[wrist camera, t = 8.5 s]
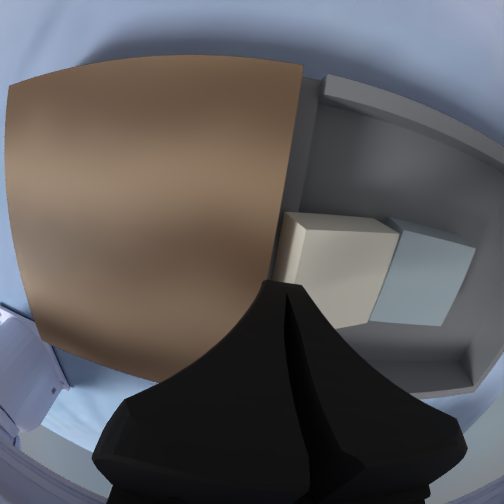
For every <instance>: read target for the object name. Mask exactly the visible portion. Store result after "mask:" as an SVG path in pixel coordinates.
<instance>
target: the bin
mask: <svg viewBox="0 0 504 504" xmlns="http://www.w3.org/2000/svg"><path fill="white" fill-rule="evenodd" d="M284 212H299V213H315V214H329V215H342V216H355V217H366V218H374V219H376V220H378V221H379V222H381V223H383V224H384V225H386V223H387V220H388V216H389V217H393V218H397V219H401V220H405V221H409V222H413V223H417V224H421V225H425V226H428V227H432V228H436V229H440V230H443V231H447V232H450V233H454V234H457V235H459V236H460V237H462V238H463V239H464V240H466V241H467V242H468V243H470V244H471V245H472V246H473V247H475V248H476V250H475V253H474V255H473V258H472V261H471V263H470V266H469V268H468V270H467V273H466V275H465V278H464V280H463V282H462V284H461V287H460V289H459V291H458V293H457V295H456V297H455V299H454V302H453V304H452V306H451V308H450V310H449V312H448V313H447V315H446V317H445V319H444V321H443V323H442V325H441V326H430V325H415V324H402V323H390V322H379V321H370V320H369V319H368V322H367V323H364V324H359V325H354V326H349V327H343V328H338V329H335V330H336V331H337V332H338V333H339V334H340V335H341V337H342V338H343V339H344V340H345V341H346V342H347V343H348V344H349V345H350V346H351V347H352V348H353V349H354V350H355V351H356V352H357V353H358V354H359V355H360V356H361V357H362V358H363V359H364V360H365V361H366V362H368V363H369V364H370V365H371V366H372V367H373V368H375V369H376V370H377V371H378V372H380V373H381V374H382V375H383V376H385V377H386V378H387V379H389V380H390V381H391V382H393V383H394V384H395V385H397V386H398V387H400V388H401V389H403V390H404V391H406V392H407V393H409V394H411V395H412V396H414V397H415V398H417V399H429V398H438V397H446V396H453V395H460V394H466V393H472V392H474V391H475V390H476V389H477V388H478V387H479V385H480V384H481V383H482V381H483V380H484V379H485V378H486V376H487V375H488V374H489V372H490V371H491V369H492V368H493V367H494V365H495V364H496V362H497V361H498V360H499V358H500V357H501V355H502V354H503V352H504V147H503V146H502V145H500V144H499V143H497V142H495V141H494V140H492V139H490V138H489V137H487V136H485V135H484V134H482V133H480V132H478V131H477V130H475V129H473V128H471V127H469V126H467V125H465V124H464V123H462V122H460V121H458V120H456V119H454V118H452V117H450V116H448V115H445V114H443V113H441V112H439V111H437V110H435V109H432V108H430V107H428V106H425V105H423V104H421V103H418V102H416V101H413V100H411V99H408V98H405V97H403V96H400V95H397V94H395V93H392V92H389V91H386V90H383V89H380V88H377V87H374V86H371V85H367V84H364V83H361V82H357V81H354V80H350V79H346V78H342V77H339V76H334V75H330V74H327V75H326V76H325V77H324V78H323V79H322V80H321V81H320V80H315V79H310V78H305V77H302V80H301V86H300V93H299V99H298V105H297V112H296V118H295V124H294V130H293V137H292V143H291V149H290V155H289V161H288V166H287V172H286V178H285V184H284V190H283V195H282V201H281V207H280V212H279V218H278V223H277V229H276V234H275V240H274V245H273V250H272V256H271V261H270V266H269V272H268V277H267V280H272V275H273V270H274V265H275V260H276V254H277V249H278V244H279V238H280V233H281V227H282V222H283V216H284Z"/></svg>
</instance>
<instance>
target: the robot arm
mask: <svg viewBox="0 0 504 504" xmlns="http://www.w3.org/2000/svg"><path fill="white" fill-rule="evenodd" d="M0 320H1V322H2V325H1V326H0V504H425V500H424V499H426V498H428V497H430V494H431V493H430V488H429V484H430V483H432V482H434V481H435V480H437V479H438V478H439V477H441V476H442V475H444V474H445V473H447V472H448V471H449V470H451V469H452V468H453V467H454V466H456V465H457V464H458V463H459V462H460V461H461V460H462V459H463V458H464V456H465V454H466V452H467V449H468V448H467V445H466V442H465V439H464V437H463V434H462V431H461V429H460V426H459V424H458V421H457V419H456V418H454V417H452V416H450V415H448V414H446V413H444V412H442V411H439V410H437V409H435V408H433V407H431V406H429V405H427V404H426V403H424V402H422V401H420V400H419V399H417V398H415V397H414V396H412V395H411V394H409V393H407V392H406V391H404V390H403V389H401V388H400V387H398V386H397V385H395V384H394V383H393V382H391V381H390V380H389V379H387V378H386V377H385V376H383V375H382V374H381V373H380V372H378V371H377V370H376V369H375V368H373V367H372V366H371V365H370V364H369V363H368V362H366V361H365V360H364V359H363V358H362V357H361V356H360V355H359V354H358V353H357V352H356V351H355V350H354V349H353V348H352V347H351V346H350V345H349V344H348V343H347V342H346V341H345V340H344V339H343V338H342V337H341V335H340V334H339V333H338V332H337V331H336V330H335V329H334V327H333V326H332V325H331V324H330V323H329V321H328V320H327V319H326V317H325V316H324V315H323V314H322V312H321V311H320V310H319V308H318V307H317V305H316V304H315V303H314V301H313V300H312V298H311V297H310V296H309V294H308V293H307V291H306V290H305V288H304V287H303V286H302V285H299V284H292V283H285V282H279V281H272V280H264V281H263V282H262V284H261V288H260V290H259V293H258V294H257V296H256V298H255V300H254V301H253V303H252V304H251V306H250V307H249V309H248V310H247V312H246V313H245V314H244V315H243V317H242V318H241V319H240V320H239V321H238V323H237V324H236V325H235V326H234V327H233V328H232V329H231V330H230V332H229V333H228V334H227V335H226V336H225V337H224V338H222V339H221V340H220V341H219V342H218V343H217V344H216V345H215V346H214V347H212V348H211V349H210V350H209V351H208V352H206V353H205V354H204V355H203V356H201V357H200V358H199V359H197V360H196V361H195V362H193V363H192V364H190V365H189V366H187V367H186V368H184V369H182V370H181V371H179V372H178V373H176V374H174V375H173V376H171V377H169V378H168V379H166V380H164V381H162V382H161V383H159V384H157V385H154V386H152V387H150V388H148V389H146V390H144V391H142V392H140V393H137V394H135V395H133V396H131V397H128V398H126V399H124V400H123V402H122V403H121V404H120V405H119V407H118V408H117V410H116V411H115V412H114V414H113V415H112V417H111V418H110V420H109V421H108V423H107V424H106V426H105V428H104V430H103V432H102V434H101V436H100V438H99V441H98V443H97V445H96V448H95V450H94V452H93V455H92V460H93V462H94V464H95V466H96V467H97V469H98V470H99V471H100V472H101V473H102V474H103V475H104V476H105V477H106V479H108V480H109V482H110V483H111V484H112V485H113V486H112V488H111V491H110V494H109V497H108V498H105V497H103V496H100V495H98V494H96V493H94V492H92V491H89V490H87V489H85V488H83V487H81V486H79V485H77V484H75V483H73V482H71V481H69V480H67V479H65V478H64V477H62V476H60V475H58V474H57V473H55V472H53V471H51V470H49V469H48V468H46V467H44V466H43V465H41V464H40V463H38V462H36V461H35V460H34V459H32V458H31V457H29V456H28V455H26V454H25V453H23V452H22V451H21V444H20V438H19V436H18V435H17V434H18V432H30V431H32V430H34V429H36V428H37V427H38V426H39V425H40V424H41V422H42V421H43V419H44V418H45V416H46V414H47V413H48V411H49V409H50V408H51V406H52V404H53V403H54V401H55V400H56V398H57V396H58V395H59V393H60V392H61V390H62V389H64V390H66V391H69V389H70V387H69V385H68V383H67V381H66V379H65V376H64V374H63V372H62V370H61V368H60V365H59V363H58V361H57V359H56V356H55V354H54V351H53V349H52V346H51V345H50V344H48V343H46V342H44V341H42V340H41V337H40V335H39V332H38V329H37V327H36V324H35V322H33V321H31V320H29V319H27V318H25V317H23V316H21V315H19V314H16V313H14V312H12V311H10V310H8V309H7V308H5V307H3V306H1V305H0ZM446 504H504V475H503V476H501V477H500V478H498V479H496V480H494V481H493V482H491V483H489V484H487V485H485V486H483V487H481V488H479V489H477V490H475V491H473V492H471V493H469V494H467V495H464V496H462V497H460V498H457V499H455V500H453V501H450V502H448V503H446Z"/></svg>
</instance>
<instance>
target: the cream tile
mask: <svg viewBox="0 0 504 504" xmlns="http://www.w3.org/2000/svg"><path fill="white" fill-rule="evenodd" d="M399 235H400V234H399V233H398V232H396V231H394V230H393V229H391V228H389V227H388V226H386V225H384V224H383V223H381V222H379V221H378V220H376V219H374V218H366V217H355V216H342V215H329V214H315V213H299V212H284V216H283V222H282V227H281V233H280V238H279V244H278V249H277V254H276V260H275V265H274V270H273V275H272V281H279V282H285V283H292V284H299V285H302V286H303V287H304V288H305V290H306V291H307V293H308V294H309V296H310V297H311V298H312V300H313V301H314V303H315V304H316V305H317V307H318V308H319V310H320V311H321V312H322V314H323V315H324V316H325V317H326V319H327V320H328V321H329V323H330V324H331V325H332V326H333V327H334V329H338V328H343V327H349V326H354V325H359V324H364V323H367V322H368V319H369V317H370V315H371V312H372V310H373V308H374V305H375V303H376V300H377V298H378V295H379V293H380V290H381V287H382V285H383V282H384V279H385V277H386V274H387V271H388V268H389V266H390V263H391V260H392V257H393V254H394V251H395V248H396V245H397V242H398V239H399Z"/></svg>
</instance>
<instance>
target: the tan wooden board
mask: <svg viewBox="0 0 504 504" xmlns="http://www.w3.org/2000/svg"><path fill="white" fill-rule="evenodd" d="M303 66H304V65H298V64H293V63H287V62H280V61H273V60H266V59H257V58H247V57H235V56H219V55H164V56H147V57H136V58H126V59H118V60H111V61H104V62H98V63H92V64H87V65H82V66H77V67H72V68H68V69H63V70H59V71H55V72H51V73H48V74H44V75H41V76H37V77H34V78H31V79H28V80H24V81H21V82H19V83H16V84H13V85H10V86H9V90H8V98H7V108H6V121H5V180H6V193H7V203H8V212H9V219H10V226H11V232H12V238H13V243H14V249H15V253H16V258H17V263H18V267H19V271H20V275H21V279H22V283H23V286H24V290H25V293H26V297H27V300H28V303H29V306H30V309H31V312H32V315H33V318H34V321H35V324H36V327H37V329H38V332H39V335H40V337H41V340H42V341H44V342H46V343H48V344H50V345H52V346H55V347H57V348H59V349H61V350H64V351H66V352H69V353H71V354H73V355H76V356H78V357H81V358H84V359H86V360H89V361H91V362H94V363H97V364H100V365H102V366H105V367H108V368H111V369H114V370H117V371H120V372H123V373H126V374H130V375H133V376H136V377H139V378H143V379H146V380H150V381H154V382H157V383H161V382H162V381H164V380H166V379H168V378H169V377H171V376H173V375H174V374H176V373H178V372H179V371H181V370H182V369H184V368H186V367H187V366H189V365H190V364H192V363H193V362H195V361H196V360H197V359H199V358H200V357H201V356H203V355H204V354H205V353H206V352H208V351H209V350H210V349H211V348H212V347H214V346H215V345H216V344H217V343H218V342H219V341H220V340H221V339H222V338H224V337H225V336H226V335H227V334H228V333H229V332H230V330H231V329H232V328H233V327H234V326H235V325H236V324H237V323H238V321H239V320H240V319H241V318H242V317H243V315H244V314H245V313H246V312H247V310H248V309H249V307H250V306H251V304H252V303H253V301H254V300H255V298H256V296H257V294H258V293H259V290H260V288H261V284H262V282H263V281H264V280H267V277H268V272H269V266H270V261H271V256H272V250H273V245H274V240H275V234H276V229H277V223H278V218H279V212H280V207H281V201H282V195H283V190H284V184H285V178H286V172H287V166H288V161H289V155H290V149H291V143H292V137H293V130H294V124H295V118H296V112H297V105H298V99H299V93H300V86H301V80H302V73H303Z"/></svg>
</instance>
